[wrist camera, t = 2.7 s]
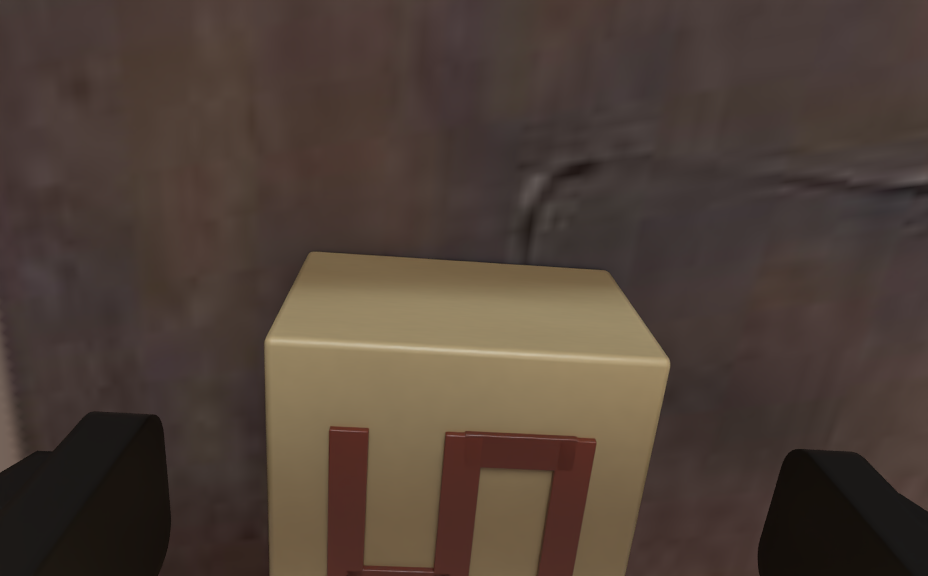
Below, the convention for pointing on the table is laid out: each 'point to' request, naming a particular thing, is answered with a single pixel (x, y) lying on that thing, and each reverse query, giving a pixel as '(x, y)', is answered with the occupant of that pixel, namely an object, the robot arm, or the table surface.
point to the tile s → (456, 419)
